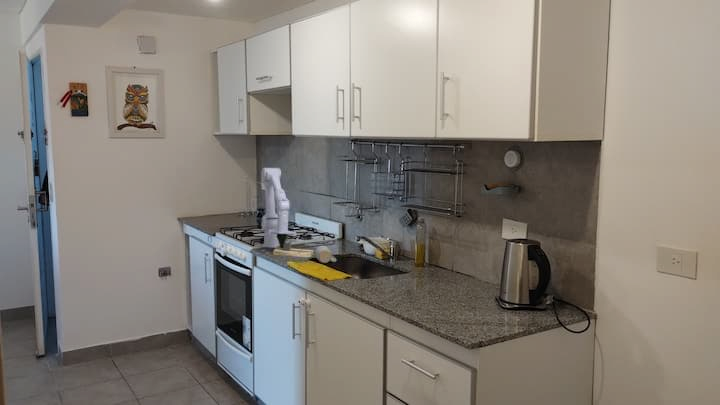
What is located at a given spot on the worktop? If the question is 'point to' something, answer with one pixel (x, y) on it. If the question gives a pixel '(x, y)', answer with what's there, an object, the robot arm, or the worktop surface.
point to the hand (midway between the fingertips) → (281, 247)
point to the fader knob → (287, 245)
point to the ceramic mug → (324, 254)
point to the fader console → (293, 252)
